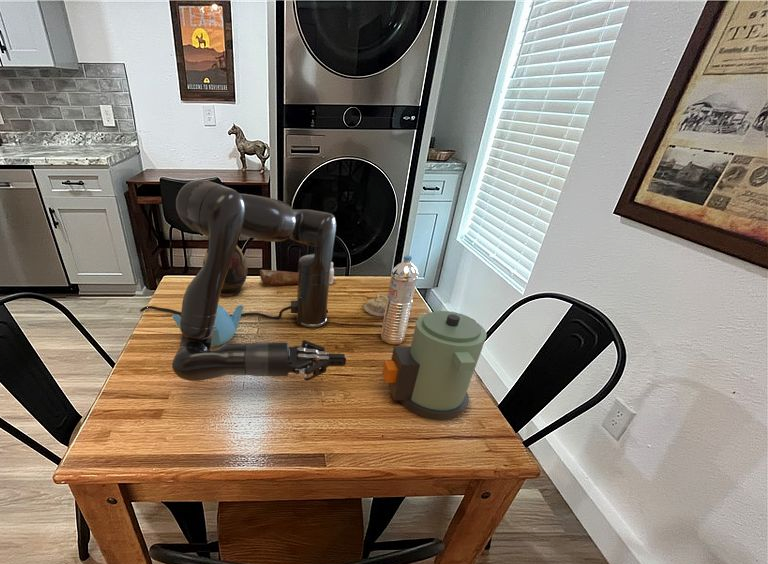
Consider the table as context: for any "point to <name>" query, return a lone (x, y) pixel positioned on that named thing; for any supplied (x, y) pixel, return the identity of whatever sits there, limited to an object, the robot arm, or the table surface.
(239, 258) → the ceramic jug
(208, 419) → the table surface
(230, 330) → the teapot
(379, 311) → the cake
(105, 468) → the table surface
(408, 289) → the water bottle
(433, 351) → the kettle
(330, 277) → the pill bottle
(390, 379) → the switch
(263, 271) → the bread
